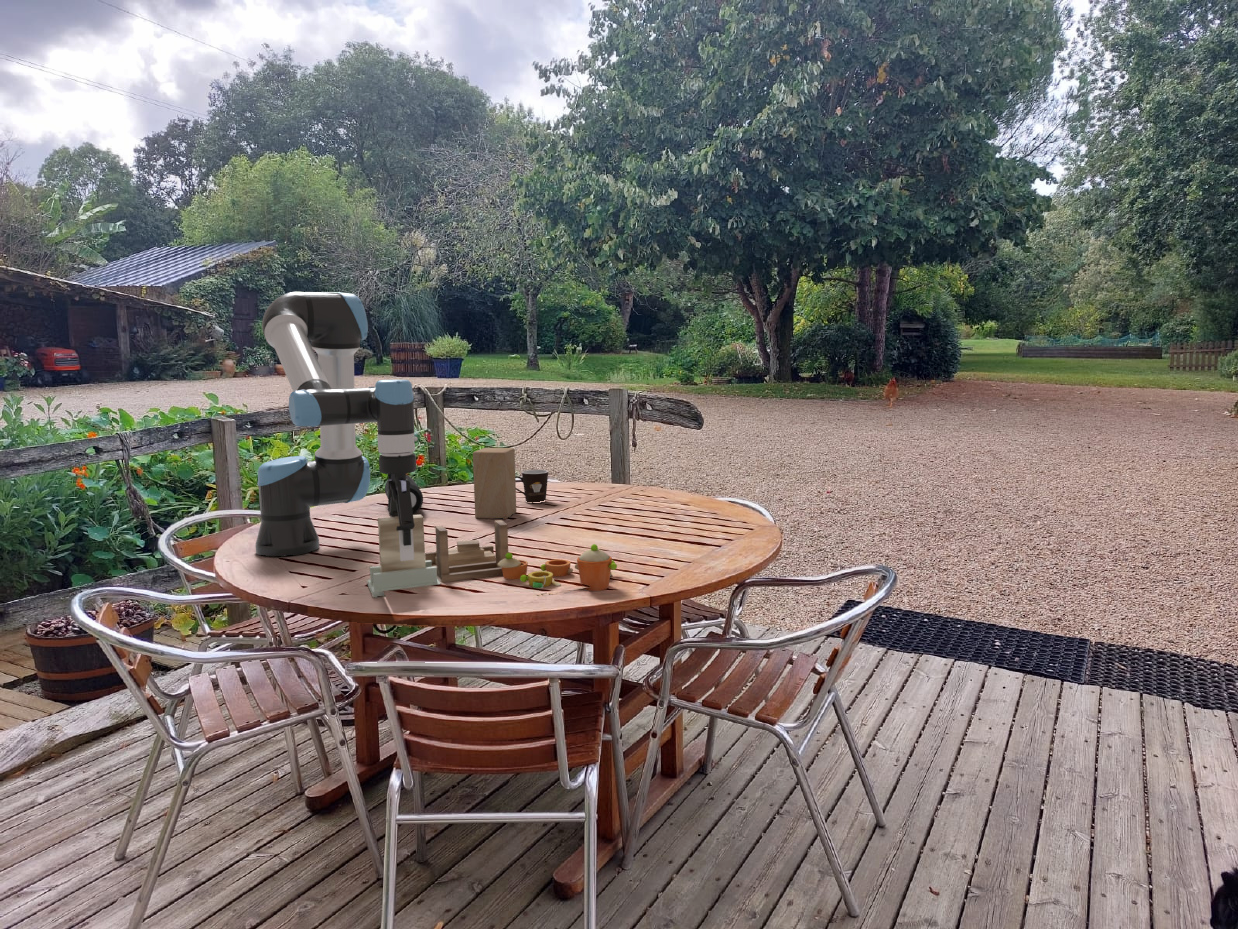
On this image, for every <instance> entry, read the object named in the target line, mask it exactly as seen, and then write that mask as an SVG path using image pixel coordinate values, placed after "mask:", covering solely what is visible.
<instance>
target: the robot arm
mask: <svg viewBox="0 0 1238 929" xmlns="http://www.w3.org/2000/svg"><path fill="white" fill-rule="evenodd" d="M368 325H369V324H368V318H367V314H366V310H365V307H364V305H363V302H362V300H361V299H360V298H359V296H357V295H356V294H354V293H350V292H341V291H337V292H335V291H329V292H328V291H327V292H325V291H323V292H322V291H321V292H320V291H319V292H318V291H316V292H315V291H314V292H313V291H305V292H304V291H292V292H287V293H285V294H283V295H281V296H279V297H276V298H275V300H273V301H272V302H271V303H270V304H269V305H268V307H267V309H266V310H265V312H264V314H263V317H262V322H261V327H262V333H263V335H264V338H265V340H266V342H267V343H268V345H269V346H271V347H272V348H273V349H274V350H275V352H276V355H277V357H278V359H279V362H280V363H281V366H282V369H283V371H284V373H285V376H286V378H287V380H288V383H289V385H290V387H291V390H292V391H291V393H290V394H289V397H288V412H289V415H290V420H291V422H292V423H293V425H295V426H296V427H310V428H314V427H320V428H319V431H320V433H319V435H320V447H319V448H318V449H317V450H316V451H315V452H314V460H309V461H308V459H307V457H306V456H303V455H296V456H295V455H294V456H287V457H285V456H284V457H282V458H281V457H280V458H276V459H272V460H268V461H266V462H264V463H262V464H261V465H260V466H259V467H258V469H257V486H258V495H259V496H258V497H259V508H260V509H259V511H260V512H259V513H260V526H259V530H258V533H257V538H256V541H255V554H256V555H257V556H258V555H259V556H261V555H266V556H265V557H269V556H281V557H285V556H284V555H293V556H299V555H303V554H307V553H312V552H314V551H317V550H318V549H319V548H320V538H319V535H318V533H317V530H316V528H315V526H314V523H313V521H312V518H311V510H310V509H311V507H318V506H319V507H320V506H327V505H335V504H349V503H353V502H358V501H361V500H363V499H364V498H365V497H366V495H367V493H368V491H369V487H370V484H371V483H370V482H371V470H370V463H369V460H368V458H366V456H363V452H362V450H361V449H360V448H359V447H357V445H356V444H357V443H356V442H357V441H356V424H368V423H376V425H377V433H376V434H377V448H378V449H377V451H378V453H379V454H380V455H379V456H378V464H379V472H380V473H381V474H384V475H387V481H388V498H387V511H388V515H389V517H398V518H399V525H400V526H397V528H396V530H397V531H399V544H400V560H401V561H406V560H414V545H413V528H414V526H415V524H414V519H413V515H414V514H413V511H412V502H411V494H410V482H409V480H408V481H407V479H406V475H407V474H411V473H415V472H416V471H417V456H416V454H415V453H414V452H415V451H416V444H415V442H417V441H418V439H419V438H418V437H417V436H415V412H414V399H415V396H414V390H413V385H412V382H411V381H410V380H409V379H381V380H378V381H376V382H375V384H374V386H369V387H364V388H363V387H357V388H356V387H355V358H354V357H355V354H356V352H358V351H359V350H360V349H361V346H360V345H361V341H364V340H366V339H367V337H368V332H369V326H368ZM316 354H317V355H316ZM406 522H408V523H406ZM311 551H312V552H311Z"/></svg>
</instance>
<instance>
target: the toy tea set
mask: <svg viewBox="0 0 1238 929" xmlns="http://www.w3.org/2000/svg"><path fill="white" fill-rule="evenodd" d="M513 556H514V555H513V553H512V552H508V553H507V554H506V558H505V559H503V560H501V561H500V562H499V563H498V566H499V567H502V572H503V575H502V576H503V579H506V580H520V582H521V583H526V582H527V581H528V586H530V587H532V588H535V589H536V588H538V589H544V588H546V587H549V586H550V587H551V586H552V585H553V586H554V587H561V586H562V584H561V583H560V582H559V581H555V578H553V577H564V576H568V575H569V574H570V573H573V571H574V569H575V570H577V571H578V572H579V573H578V574H579V580H580V583H581V584H582V585H585V586H588V587H582V589H583V590H586V591H589V592H592V591H593V592H597V591H605V590H607V589H608V588H609V586H610V578H611V576H612V575H613V572H612V571H611V570H613V571H615V570H616V569H617V567H618V565H617V564H616V562H615V560H613V558H612V556H610V555H609V554H608V553H607V552H605V551H604V550H602V549H599V548H598V545H597V544H595V543H594V544H592V545H591V546H590V549H587V550H586V551H584V552H583V553H581V555H580V556H578V557H577V559H576V562H577V563H575V565H574V569H573V568H571V564H572V563H571V561H569V560H567V559H560V558H559V559H558V558H556V559H555V558H554V559H551V560H546V561H545V562H544V564H543V563H542V564H541V565H540V570H537V571H532V572H529V573H527V572H528V566H529V563H528V561H527V560H523V559H517V558H514V557H513ZM527 574H528V575H527ZM543 594H545V595H546V592H544V593H541V595H543Z"/></svg>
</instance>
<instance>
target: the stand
mask: <svg viewBox="0 0 1238 929" xmlns="http://www.w3.org/2000/svg"><path fill="white" fill-rule="evenodd" d="M425 566H426V567H425V568H416V569H407V570H398V571H390V572H381V569H380V565H377V566H369V573H370V575H369V577H370V578H369V579H367V582H366V583H367V586H368V590H369V591H370V593H372V594H371V596H372V597H375V598H378V597H377V596H383V597H386V595H385V592H386V591H388V592H389V591H397V590H404V589H412V588H419V587H427V586H436V585H442V582H439V580H438V579H437V568H436V566H433V567H432V561H431V560H427V561H425Z"/></svg>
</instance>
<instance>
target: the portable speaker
mask: <svg viewBox="0 0 1238 929" xmlns="http://www.w3.org/2000/svg"><path fill="white" fill-rule="evenodd" d="M406 479H407V481H408V480H409V482H410V494H411V502H412V511H413V515H416V513H417V512H419V510H420V509H421V507H422V506H423V503H424V495H423V493H422V490H421V489H420V488H419V486H418V485H417V483H416V481H415V480H414V479H413V478H412V477H411V476H409V475H407V474H406ZM384 493H385V496H386V497H387V498H386V499H388V480H387V481H386V483H385V485H384Z"/></svg>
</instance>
